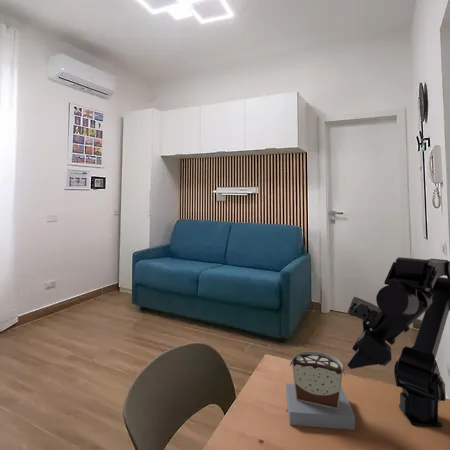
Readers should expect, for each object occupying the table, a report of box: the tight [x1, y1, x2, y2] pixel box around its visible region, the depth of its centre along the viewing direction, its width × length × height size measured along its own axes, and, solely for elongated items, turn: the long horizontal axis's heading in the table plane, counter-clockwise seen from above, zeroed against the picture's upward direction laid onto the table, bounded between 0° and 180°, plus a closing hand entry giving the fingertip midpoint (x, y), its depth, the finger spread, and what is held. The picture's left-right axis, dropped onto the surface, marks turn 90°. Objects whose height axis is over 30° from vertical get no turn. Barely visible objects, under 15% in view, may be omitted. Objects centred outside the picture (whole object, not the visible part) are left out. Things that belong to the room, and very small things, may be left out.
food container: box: [289, 350, 346, 409], centre depth 71 cm, size 12×6×10 cm, turn 68°
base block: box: [285, 383, 356, 431], centre depth 71 cm, size 14×11×3 cm
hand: (351, 357), depth 69 cm, fingers open, 9 cm apart
